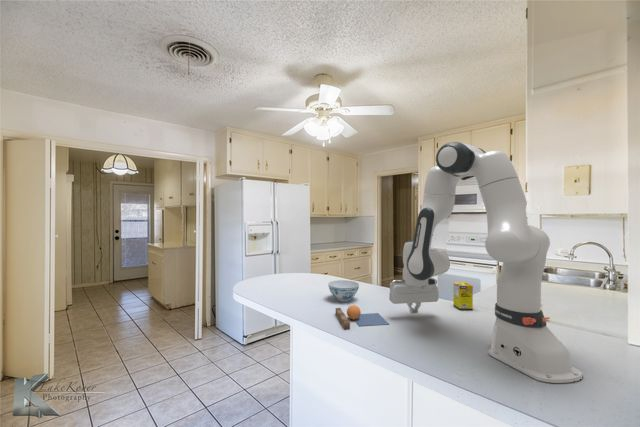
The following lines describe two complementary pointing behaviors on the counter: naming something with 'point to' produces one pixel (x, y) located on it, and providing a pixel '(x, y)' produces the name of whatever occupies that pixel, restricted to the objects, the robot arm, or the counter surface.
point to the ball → (353, 312)
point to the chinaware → (343, 289)
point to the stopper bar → (342, 318)
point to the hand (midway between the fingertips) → (413, 313)
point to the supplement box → (463, 296)
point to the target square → (371, 320)
